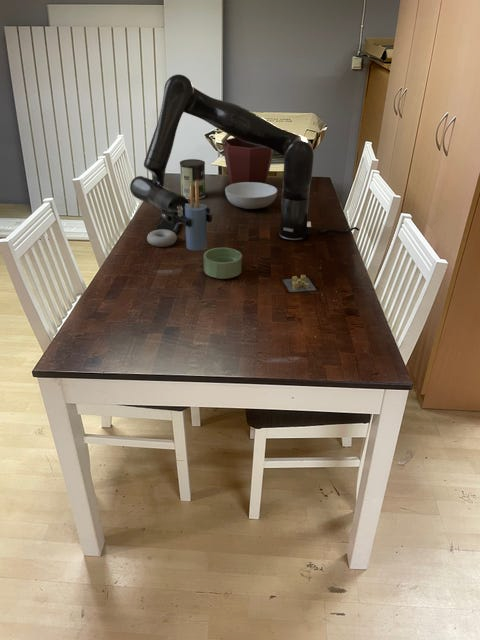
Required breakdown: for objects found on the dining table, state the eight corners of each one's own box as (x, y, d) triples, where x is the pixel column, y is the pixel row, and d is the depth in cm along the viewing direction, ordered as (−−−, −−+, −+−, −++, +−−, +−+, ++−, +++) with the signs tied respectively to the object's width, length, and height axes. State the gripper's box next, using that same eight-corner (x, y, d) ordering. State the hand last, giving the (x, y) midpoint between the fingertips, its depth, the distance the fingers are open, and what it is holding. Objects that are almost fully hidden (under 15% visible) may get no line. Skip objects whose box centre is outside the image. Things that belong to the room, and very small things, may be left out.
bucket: (273, 178, 242) (276, 122, 229) (277, 193, 224) (281, 132, 211) (221, 177, 242) (221, 121, 229) (221, 192, 223) (221, 132, 210)
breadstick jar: (208, 242, 152) (207, 179, 142) (205, 251, 147) (204, 185, 137) (188, 241, 153) (185, 178, 143) (184, 250, 147) (181, 184, 137)
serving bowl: (285, 203, 212) (286, 187, 208) (259, 218, 196) (260, 200, 193) (242, 194, 221) (243, 178, 217) (214, 207, 206) (214, 190, 202)
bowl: (243, 264, 161) (243, 248, 158) (239, 281, 151) (240, 264, 149) (206, 262, 162) (206, 246, 159) (201, 279, 152) (201, 262, 149)
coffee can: (206, 192, 222) (205, 159, 215) (204, 200, 214) (204, 165, 206) (182, 191, 222) (181, 158, 215) (179, 199, 214) (178, 165, 206)
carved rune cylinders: (293, 289, 148) (293, 283, 147) (288, 281, 152) (288, 275, 151) (310, 288, 149) (310, 282, 148) (304, 280, 153) (305, 274, 152)
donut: (143, 247, 171) (171, 249, 170) (142, 237, 170) (171, 239, 168) (153, 236, 180) (180, 238, 178) (152, 226, 178) (180, 228, 176)
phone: (182, 216, 193) (175, 231, 180) (182, 219, 194) (175, 234, 181) (161, 215, 194) (153, 230, 181) (162, 218, 194) (153, 233, 181)
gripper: (148, 196, 150) (177, 213, 138) (191, 187, 157) (222, 203, 145) (150, 220, 154) (178, 239, 142) (192, 211, 161) (222, 228, 149)
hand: (200, 221), depth 144 cm, fingers closed on breadstick jar, 6 cm apart
